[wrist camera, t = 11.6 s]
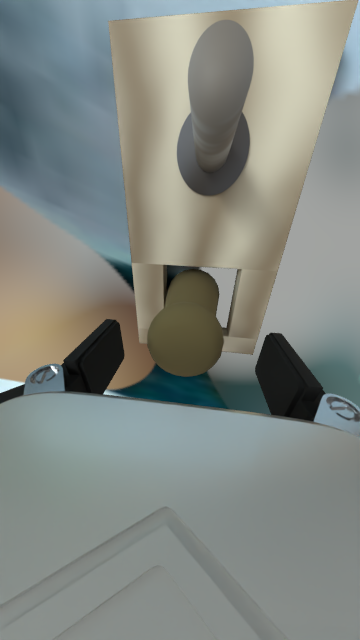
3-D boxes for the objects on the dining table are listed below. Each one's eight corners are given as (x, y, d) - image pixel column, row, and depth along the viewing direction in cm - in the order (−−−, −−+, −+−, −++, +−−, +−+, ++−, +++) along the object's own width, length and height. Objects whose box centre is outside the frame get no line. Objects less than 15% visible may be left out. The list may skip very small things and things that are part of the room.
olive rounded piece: (209, 323, 21) (214, 400, 12) (163, 310, 21) (129, 376, 12) (227, 277, 18) (252, 327, 9) (173, 262, 18) (139, 296, 9)
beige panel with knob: (144, 334, 23) (113, 387, 15) (122, 51, 12) (-34, -292, 4) (248, 344, 22) (274, 408, 14) (333, 37, 11) (695, -507, 3)
